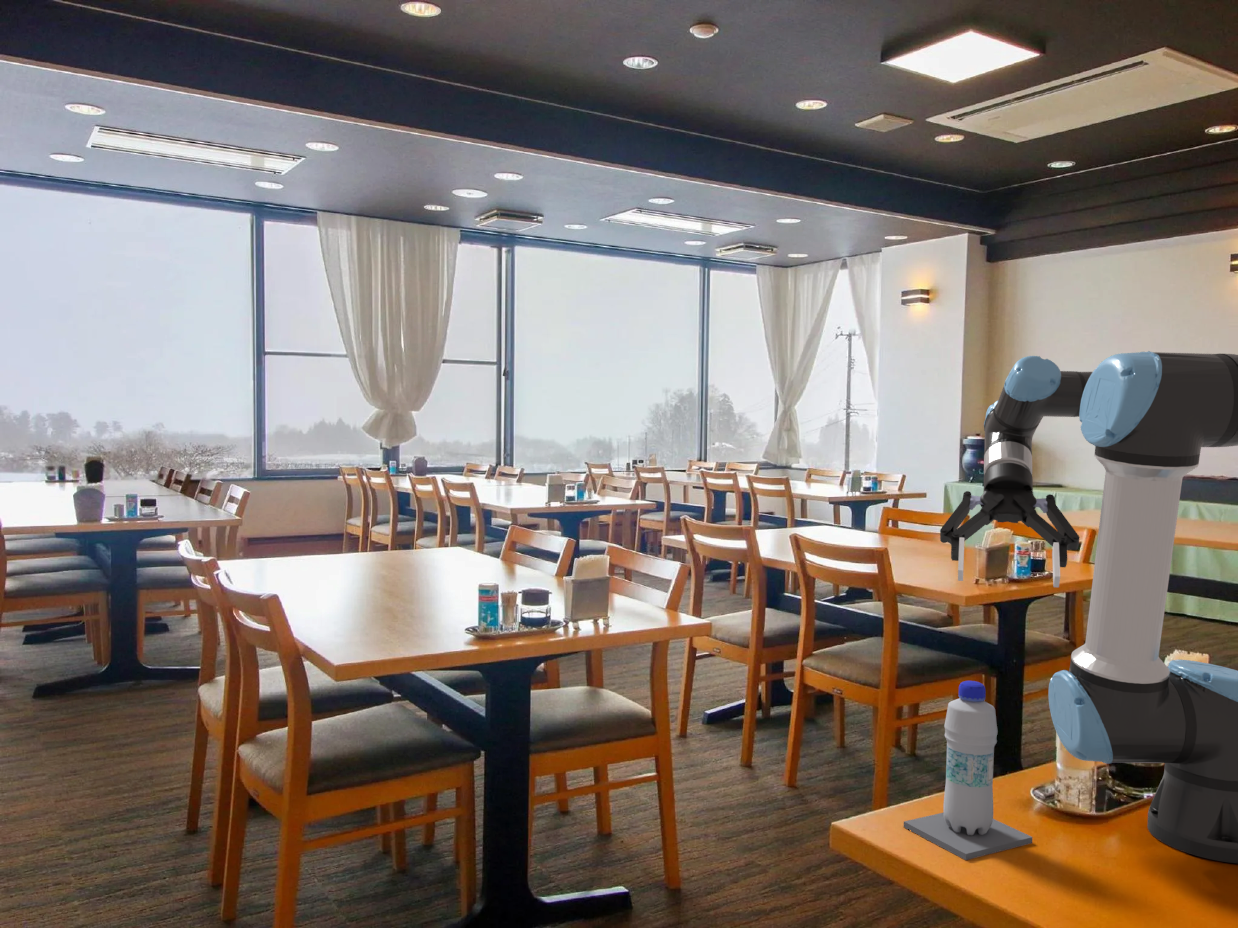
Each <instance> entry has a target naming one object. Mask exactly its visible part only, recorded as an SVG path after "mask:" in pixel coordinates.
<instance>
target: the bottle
mask: <svg viewBox="0 0 1238 928" xmlns="http://www.w3.org/2000/svg"><path fill="white" fill-rule="evenodd" d="M986 693H987V692H986V686H985V685H984V684H983V683H981V682H979V681H975V680H965V681H962V682H960V684H959V686H958V697H959V698H956V699H952V700H951V701H949V702H948V704H947V708H946V709H947V710H946V715H945V721H944V724H943V725H944V726H943V727H944V737H945V739H946V764H945V765H946V767H945V787H944V794H943V795H944V796H943V812H944V819H945V822H946V824H947V825H948V826H949V827H950V828H953V830H954V831H955V832H958V833H959V832H960V831H961V827H965V828H966V829H967V834H968V835H970V836H972V835H974V833H975V830H976V829H978V833H979V834H980V835H983V834H985V833H987V831H988V829H989V828H990V827H991V825H992V821H993V819H994V792H993V791H994V790H993V782H994V781H993V780H994V757H995V756H994V753H995V746H996V744H997V742H998V740H997V735H998V732H999V731H998V726H997V725H998V724H997V716H996V709H995V707H994V705H992V704H990V703H988V702H987V701H985V700H986Z"/></svg>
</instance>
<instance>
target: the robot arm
mask: <svg viewBox="0 0 1238 928" xmlns="http://www.w3.org/2000/svg"><path fill="white" fill-rule="evenodd" d="M1044 417H1050V418H1051V417H1052V418H1053V417H1055V418H1057V417H1058V418H1059V417H1060V418H1061V417H1062V418H1063V417H1064V418H1065V417H1066V418H1068V417H1069V418H1078V417H1079V418H1078V419H1079V422H1081V425H1080V430H1081V434H1082V436H1083V438H1084V439H1085V440H1086V441H1087V443H1089V444H1090V445H1092V446H1094V457H1095V459H1097V461H1098V462H1099V463H1100V464H1101V465H1102V466H1103V467H1104V470H1105V475H1104V482H1103V491H1102V499H1101V508H1100V514H1099V515H1100V517H1099V526H1098V535H1097V542H1096V549H1095V550H1096V551H1095V559H1094V560H1095V561H1094V565H1093V566H1094V567H1093V575H1092V584H1091V592H1090V601H1089V609H1088V617H1087V624H1086V625H1087V627H1086V634H1085V635H1086V636H1085V642H1084V644H1083V645H1081V646H1079V647H1077V648H1076V649H1074V650H1073V651H1072V652H1071V655H1070V662H1069V663H1070V665H1069V670H1066V669H1063V670H1059V671H1057V672H1055V673H1054V674H1053V675H1052V677H1051V678H1050V681H1049V684H1048V704H1049V705H1048V707H1049V712H1050V717H1051V721H1052V723H1053V727H1054V730H1055V732H1056V735H1057V737H1058V738H1059V741H1060V742H1061V745H1063V747H1064V748H1065V750H1066V751H1067V752H1068V753H1069V754H1070V755H1071V756H1073V757H1074V758H1076V759H1078V760H1080V761H1085V762H1099V763H1101V762H1102V763H1103V764H1105V765H1107V764H1110V765H1111V764H1112V763H1121V764H1122V763H1126V764H1127V763H1128V764H1129V763H1132V764H1133V763H1134V764H1164V771H1163V776H1162V779H1161V780H1160V783H1159V785H1158V787H1157V789H1156V791H1155V794H1154V796H1153V799H1152V801H1151V803H1150V806H1149V807H1148V810H1147V811H1148V812H1147V830H1148V832H1149V833H1150V834H1151V835H1152V836H1153V837H1154V838H1155V839H1157V840H1159V841H1160V842H1162V843H1163V844H1165V845H1167V846H1169V847H1171V848H1174V849H1176V850H1178V851H1181V852H1184V853H1186V854H1190V855H1191V856H1192V855H1193V856H1196V857H1200V858H1203V859H1207V860H1212V861H1218V862H1221V863H1222V862H1223V863H1231V864H1238V670H1236V669H1233V668H1229V667H1225V666H1221V665H1217V664H1212V663H1208V662H1202V661H1195V660H1188V659H1172V660H1170V661H1169V662H1168V666H1167V664H1166V663H1165V662H1164V661H1163V660H1162V659H1161V658H1160V657H1159V655H1160V647H1161V641H1162V633H1163V625H1164V619H1165V618H1164V617H1165V610H1166V603H1167V597H1168V596H1167V595H1168V588H1169V581H1170V574H1171V566H1172V565H1171V564H1172V558H1173V552H1174V544H1175V536H1176V528H1177V520H1178V513H1179V505H1180V497H1181V491H1182V483H1183V478H1184V477H1185V476H1186V475H1188V474H1189V473H1190V472H1192V471H1193V470H1195V469H1197V468H1198V466H1199V465H1200V456H1201V452H1202V451H1201V449H1202V448H1228V447H1237V446H1238V354H1235V353H1197V352H1196V353H1194V352H1193V353H1192V352H1191V353H1190V352H1189V353H1188V352H1162V351H1161V352H1157V351H1155V352H1154V351H1150V350H1148V351H1139V352H1138V351H1137V352H1136V351H1135V352H1125V353H1123V352H1122V353H1115V354H1113V355H1111V356H1108V357H1106V358H1105V359H1104V360H1103V361H1101V362H1099V364H1098V365H1097V367H1096V368H1095V369H1094V370H1093V371H1078V370H1077V371H1076V370H1075V371H1074V370H1073V371H1072V370H1071V371H1070V370H1061V369H1060V367H1059V366H1058V365H1057V364H1056V363H1055V362H1053V360H1051V359H1048V358H1045V359H1044V358H1042V357H1041V356H1040V355H1039V356H1038V355H1028V356H1024V357H1022V358H1019V360H1017V361H1016V362H1015V364H1014V365H1013V366H1012V368H1011V370H1010V371H1009V373H1008V375H1007V376H1006V379H1005V380H1004V385H1003V387H1002V390H1001V392H1000V395H999V397H998V399H997V400H996V401H995V402H994V403H992V404H990V405H989V406H988V408H987V410H986V412H985V418H984V419H985V420H984V421H983V430H984V454H983V493H982V495H981V496H979V495H972V492H971V491H969V490H967V491H964V492H963V495H962V498H961V499H962V500H961V502H960V503H959V504H958V506H957V507H956V508H955V510H954V511H953V512H952V513H951V515H950V516H949V518H948V519H947V520H946V521H945V523H944V524H943V526H942V527H941V528H940V530H939V535H940V536H939V540H940V542H941V543H942V544H946V543H948V544H950V545H951V549H950V559H951V561H954V562H955V561H957V563H958V565H957V566H958V567H957V582H964V565H965V542H966V541H967V540H968V539H969V538H971V537H972V536H973V535H974V534H976V533H977V532H978V531H979V530H981V529H982V528H984V526H985V527H986V526H988V525H989V524H991V523H992V522H994V521H995V522H996V523H1012V524H1019V522H1022V523H1023V524H1024V526H1026V527H1027V528H1031V530H1033V531H1034V532H1035V533H1037V535H1039V536H1040V537H1041V539H1043V540H1044V541H1046V542H1047V543H1048V544H1049V545H1050V546H1051V547H1052V551H1051V558H1052V560H1051V561H1052V562H1051V563H1052V581H1053V582H1052V583H1053V584H1052V585H1053V588H1060V584H1061V583H1060V581H1061V568H1066V567H1067V565H1068V550H1072V551H1076V550H1078V549H1079V545H1080V535H1079V534H1078V532H1076V530H1075V529H1074V527H1073V526H1072V525H1071V523H1070V522H1069V521H1068V519H1067V518H1066V516H1065V515H1064V513H1063V512H1062V511H1061V510H1060V509H1059V507H1058V506H1057V503H1056V499H1055V495H1053V494H1047V495H1046V496H1045V497H1046V498H1043V497H1042V498H1036V497H1035V495H1034V486H1033V484H1034V483H1033V479H1034V478H1033V437H1034V435H1035V433H1036V430H1037V428H1038V427H1039V425H1040V424H1041V421H1042V419H1043V418H1044ZM978 505H980V507H981V508H980V510H979V511H978V512H977V513H975V515H973V516H971V518H970V519H968V520H967V521H966V522H964V523H963V521H964V520H965V519H966V518H967V516H968V515H969V513H970V511H973V510H974V509H975V507H976V506H978ZM1036 508H1039V509H1040V510H1041V512H1042V513H1043V514H1046V516H1047V519H1048V520H1049V521H1050V522H1051V524H1052V525H1053V526H1052V525H1051V524H1050V523H1049V522H1047V521H1046V520H1045V518H1043V517H1042V516H1041V515H1039V514H1038V512H1037V511H1036ZM962 523H963V524H962Z"/></svg>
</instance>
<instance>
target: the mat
mask: <svg viewBox="0 0 1238 928" xmlns="http://www.w3.org/2000/svg"><path fill="white" fill-rule="evenodd" d="M904 827H905V829H907V830H908V829H909V830H908V831H910V830H911V831H910V832H911V833H913V832H914V833H913V834H915V833H916V835H917V834H918V836H919V835H920V836H919V837H921V838H923V839H925V840H926V841H928V842H930V841H931V843H933V844H934V845H936V846H938V847H940V848H941V849H943V850H946V851H948V852H950V853H952V854H953V855H955V856H957V857H959V858H961V859H962V860H964V861H969V860H973V859H975V858H979V857H985V856H987V855H991V854H995V853H1000V852H1004V851H1006V850H1007V851H1008V850H1011V849H1014V848H1018V847H1022V846H1026V845H1030V844H1033V836H1031V835H1029V834H1027V833H1025V832H1022V831H1020V830H1018V829H1016V828H1014V827H1011V826H1009V825H1007V824H1005V823H1003V822H1001V821H999V820H997V819H995V818H993V821H992V825H991V827H990V828H989V829H988V831H987V833H985V834H983V835H980V834H979V833H978V829H976V830H975V833H974V835H972V836H970V835H968V834H967V829H966V828H965V827H961V831H960V832H959V833H958V832H955V831H954V830H953V828H950V827H949V826H948V825H947V824H946V822H945V819H944V811H943V812H939V813H935V814H930V815H927V816H922V817H918V818H914V819H909V820H905V821H903V828H904Z"/></svg>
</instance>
